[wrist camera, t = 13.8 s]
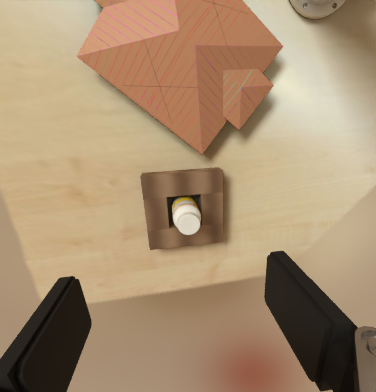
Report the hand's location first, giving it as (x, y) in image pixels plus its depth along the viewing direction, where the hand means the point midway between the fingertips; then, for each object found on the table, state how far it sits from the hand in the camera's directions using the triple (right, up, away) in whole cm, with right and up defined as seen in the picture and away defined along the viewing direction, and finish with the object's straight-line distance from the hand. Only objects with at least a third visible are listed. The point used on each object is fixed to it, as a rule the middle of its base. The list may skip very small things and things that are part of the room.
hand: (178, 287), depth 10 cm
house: (-1, +30, +26) cm, 40 cm away
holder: (-1, +2, +34) cm, 34 cm away
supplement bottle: (0, +2, +34) cm, 34 cm away
